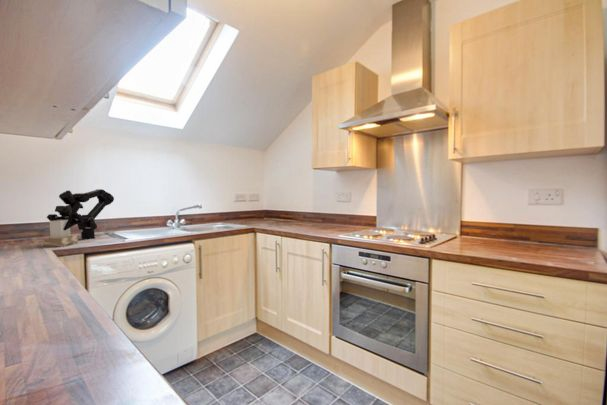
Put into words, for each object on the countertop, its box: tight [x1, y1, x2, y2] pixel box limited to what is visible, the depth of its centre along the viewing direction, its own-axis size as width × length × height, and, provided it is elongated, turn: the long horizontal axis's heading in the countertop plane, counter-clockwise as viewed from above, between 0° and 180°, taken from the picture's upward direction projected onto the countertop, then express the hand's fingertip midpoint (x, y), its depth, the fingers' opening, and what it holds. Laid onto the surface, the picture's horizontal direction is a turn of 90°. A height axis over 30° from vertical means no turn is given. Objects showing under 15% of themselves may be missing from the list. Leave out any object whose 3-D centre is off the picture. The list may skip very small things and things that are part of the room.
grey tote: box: [48, 220, 72, 239], centre depth 170 cm, size 6×6×12 cm
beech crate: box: [42, 235, 79, 248], centre depth 171 cm, size 11×11×4 cm
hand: (58, 229), depth 169 cm, fingers closed on grey tote, 6 cm apart
